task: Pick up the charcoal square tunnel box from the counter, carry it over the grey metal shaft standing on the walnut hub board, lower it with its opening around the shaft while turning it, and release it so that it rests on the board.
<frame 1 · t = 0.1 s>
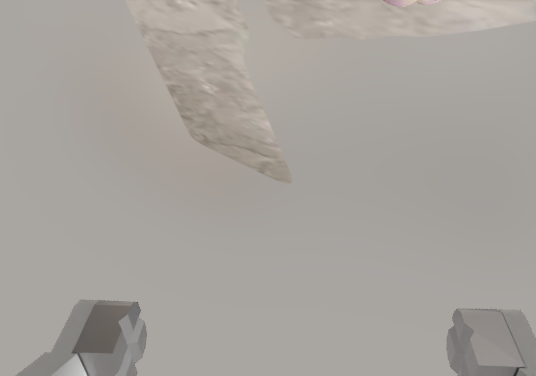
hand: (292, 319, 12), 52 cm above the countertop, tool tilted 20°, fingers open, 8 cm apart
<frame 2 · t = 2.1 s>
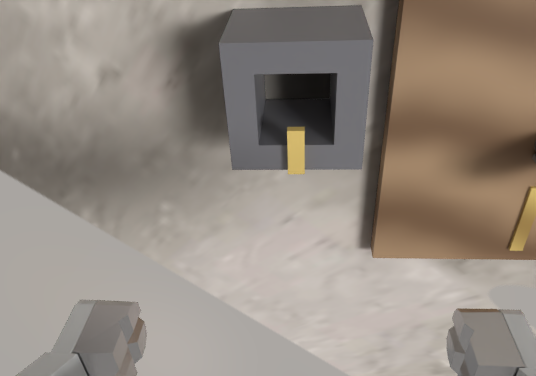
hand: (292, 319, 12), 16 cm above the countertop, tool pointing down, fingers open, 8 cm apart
square tunnel box: (297, 68, 25), on the countertop
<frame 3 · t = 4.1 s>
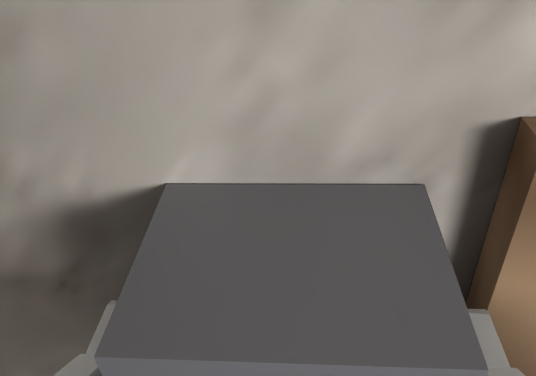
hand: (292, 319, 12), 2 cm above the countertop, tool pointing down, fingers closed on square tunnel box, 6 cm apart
square tunnel box: (294, 274, 14), on the countertop, touching gripper
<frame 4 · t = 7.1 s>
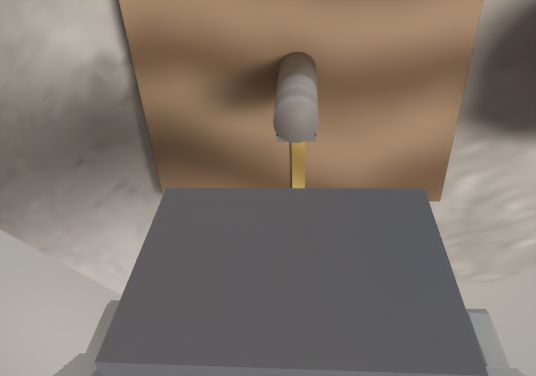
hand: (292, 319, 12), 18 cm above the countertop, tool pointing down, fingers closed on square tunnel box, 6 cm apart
square tunnel box: (294, 277, 14), point 16 cm above the countertop, touching gripper
hub: (297, 61, 26), on the countertop
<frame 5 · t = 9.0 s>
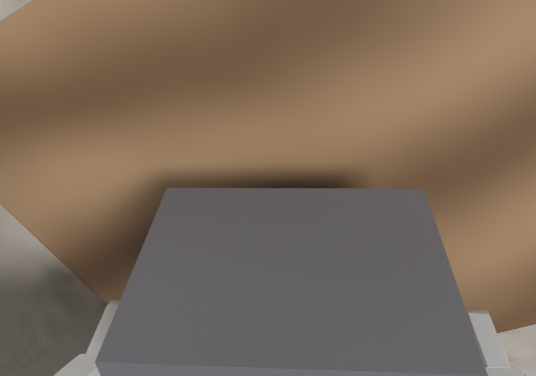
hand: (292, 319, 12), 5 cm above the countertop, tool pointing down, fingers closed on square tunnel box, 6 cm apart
square tunnel box: (294, 277, 14), point 4 cm above the countertop, touching gripper
hub: (294, 188, 16), on the countertop
when the fingers open (4 cm above the countertop, at t = 10.3 s): square tunnel box stays where it is, resting on hub.
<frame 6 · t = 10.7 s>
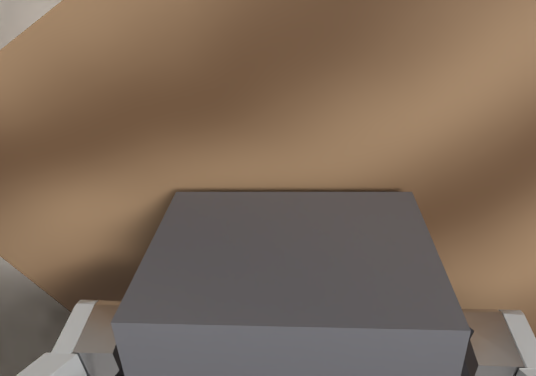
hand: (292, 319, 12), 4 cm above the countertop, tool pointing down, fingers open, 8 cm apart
square tunnel box: (293, 284, 14), point 2 cm above the countertop, tilted 8°, touching hub
hub: (296, 219, 15), on the countertop
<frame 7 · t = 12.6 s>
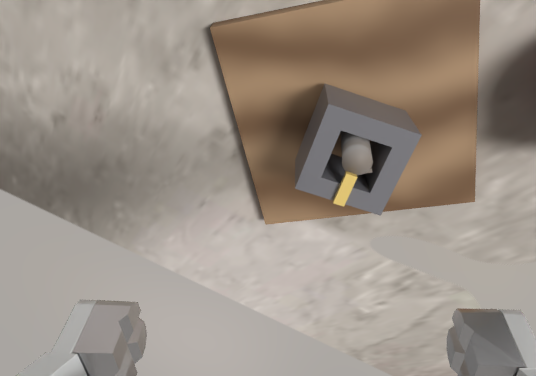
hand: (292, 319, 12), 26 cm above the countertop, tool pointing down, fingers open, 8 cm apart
square tunnel box: (348, 135, 36), point 2 cm above the countertop, tilted 8°, touching hub
hub: (352, 115, 37), on the countertop
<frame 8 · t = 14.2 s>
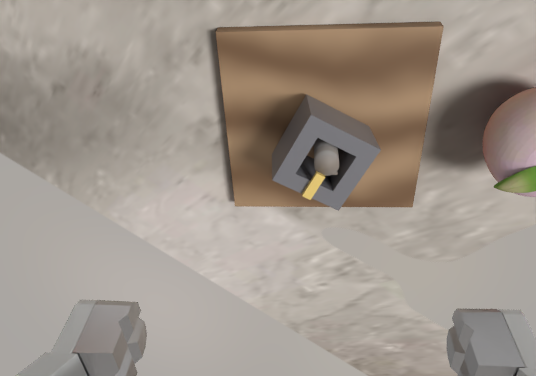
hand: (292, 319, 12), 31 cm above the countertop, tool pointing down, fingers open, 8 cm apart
square tunnel box: (319, 140, 42), point 2 cm above the countertop, tilted 8°, touching hub
decorative fruit: (516, 109, 42), on the countertop
hub: (324, 122, 44), on the countertop
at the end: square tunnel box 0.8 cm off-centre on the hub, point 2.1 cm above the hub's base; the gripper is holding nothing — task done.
